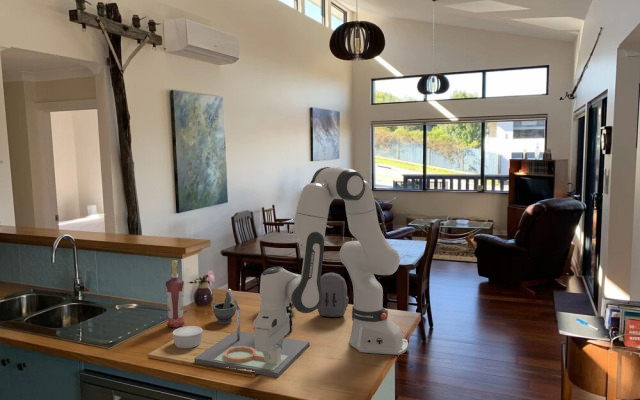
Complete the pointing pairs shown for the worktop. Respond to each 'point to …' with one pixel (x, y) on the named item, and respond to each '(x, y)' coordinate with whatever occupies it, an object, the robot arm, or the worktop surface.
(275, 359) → the ring wand
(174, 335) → the ramekin
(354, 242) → the robot arm
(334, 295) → the grey rounded bag
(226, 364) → the wire board
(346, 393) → the worktop surface
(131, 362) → the worktop surface
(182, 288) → the liquor
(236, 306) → the bent wire
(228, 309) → the mortar and pestle
